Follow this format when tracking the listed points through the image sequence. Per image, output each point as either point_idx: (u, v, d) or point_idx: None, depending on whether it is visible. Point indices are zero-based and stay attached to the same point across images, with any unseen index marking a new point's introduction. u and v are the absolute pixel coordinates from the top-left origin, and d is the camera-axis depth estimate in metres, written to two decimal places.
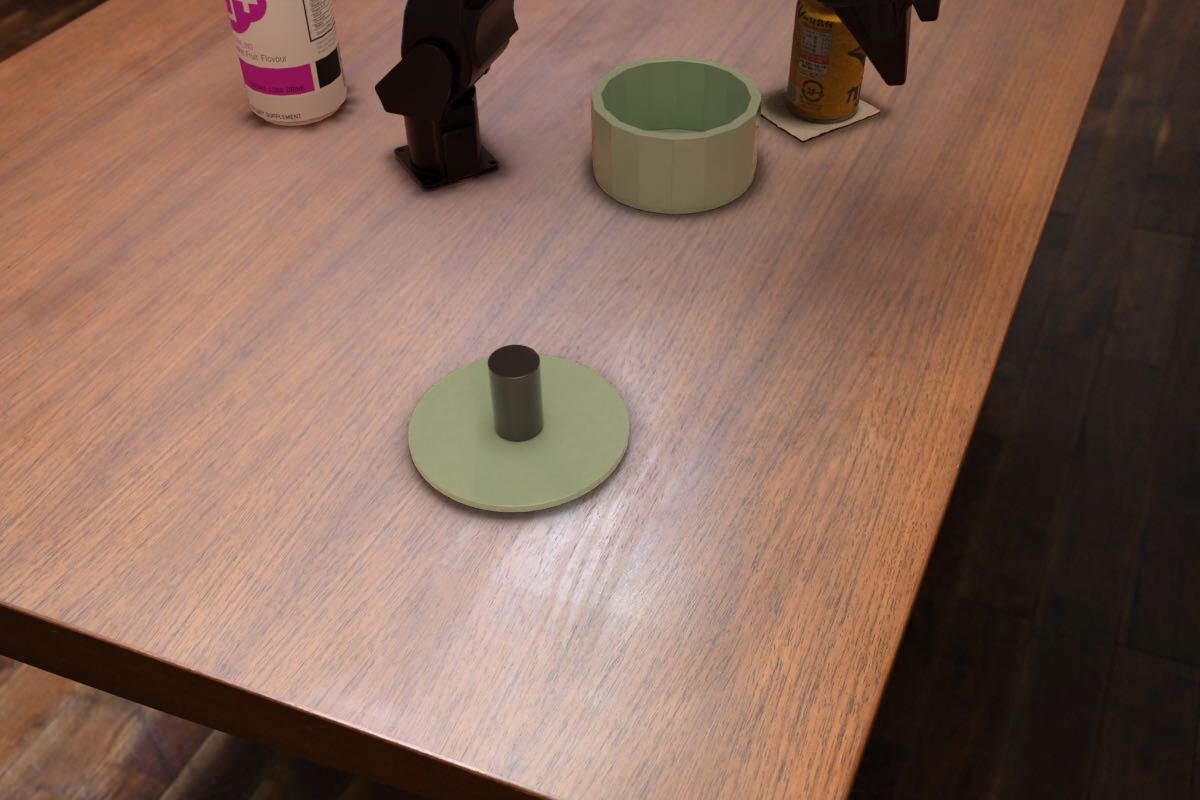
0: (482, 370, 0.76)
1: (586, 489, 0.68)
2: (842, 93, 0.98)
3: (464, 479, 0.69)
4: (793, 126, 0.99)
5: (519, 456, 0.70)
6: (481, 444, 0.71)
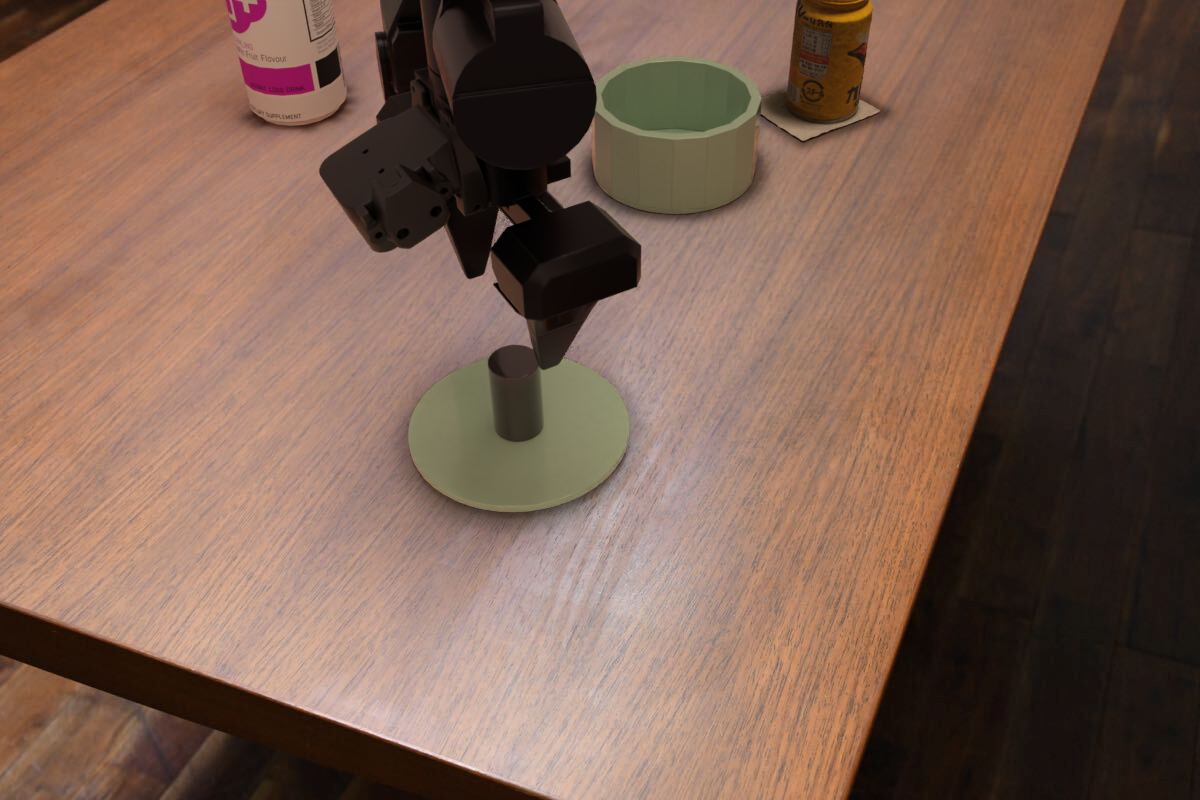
0: (482, 370, 0.76)
1: (586, 489, 0.68)
2: (842, 93, 0.98)
3: (464, 479, 0.69)
4: (793, 126, 0.99)
5: (519, 456, 0.70)
6: (481, 444, 0.71)
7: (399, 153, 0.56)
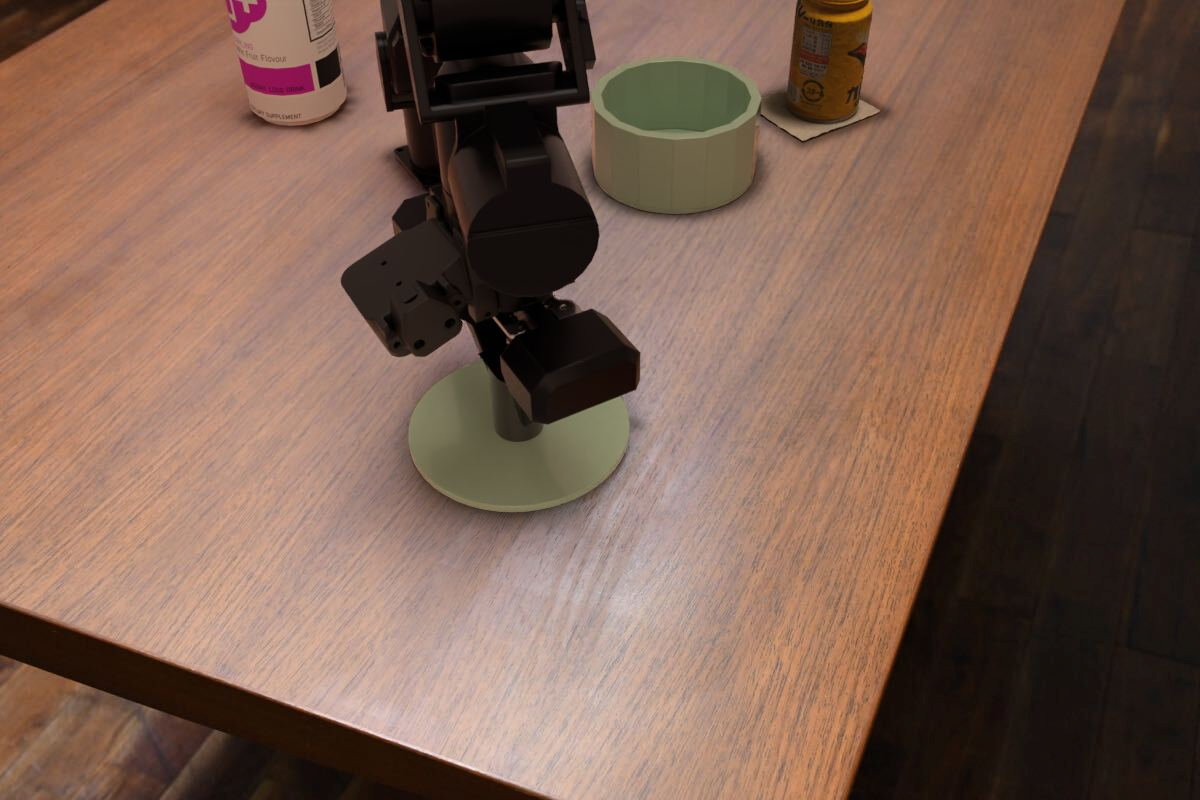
0: (482, 370, 0.76)
1: (586, 489, 0.68)
2: (842, 93, 0.98)
3: (464, 479, 0.69)
4: (793, 126, 0.99)
5: (519, 456, 0.70)
6: (481, 444, 0.71)
7: (415, 266, 0.61)
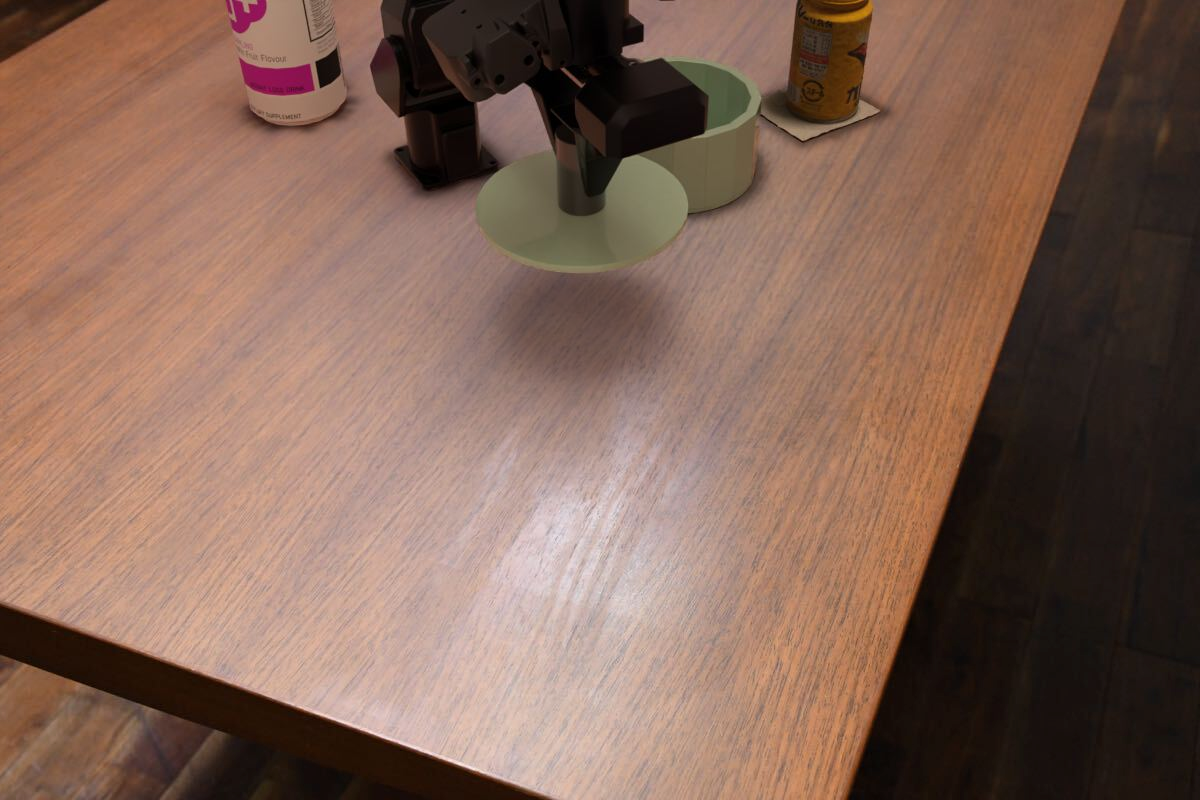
0: (544, 159, 0.79)
1: (648, 254, 0.71)
2: (842, 93, 0.98)
3: (531, 245, 0.72)
4: (793, 126, 0.99)
5: (583, 227, 0.73)
6: (546, 218, 0.74)
7: (495, 11, 0.63)
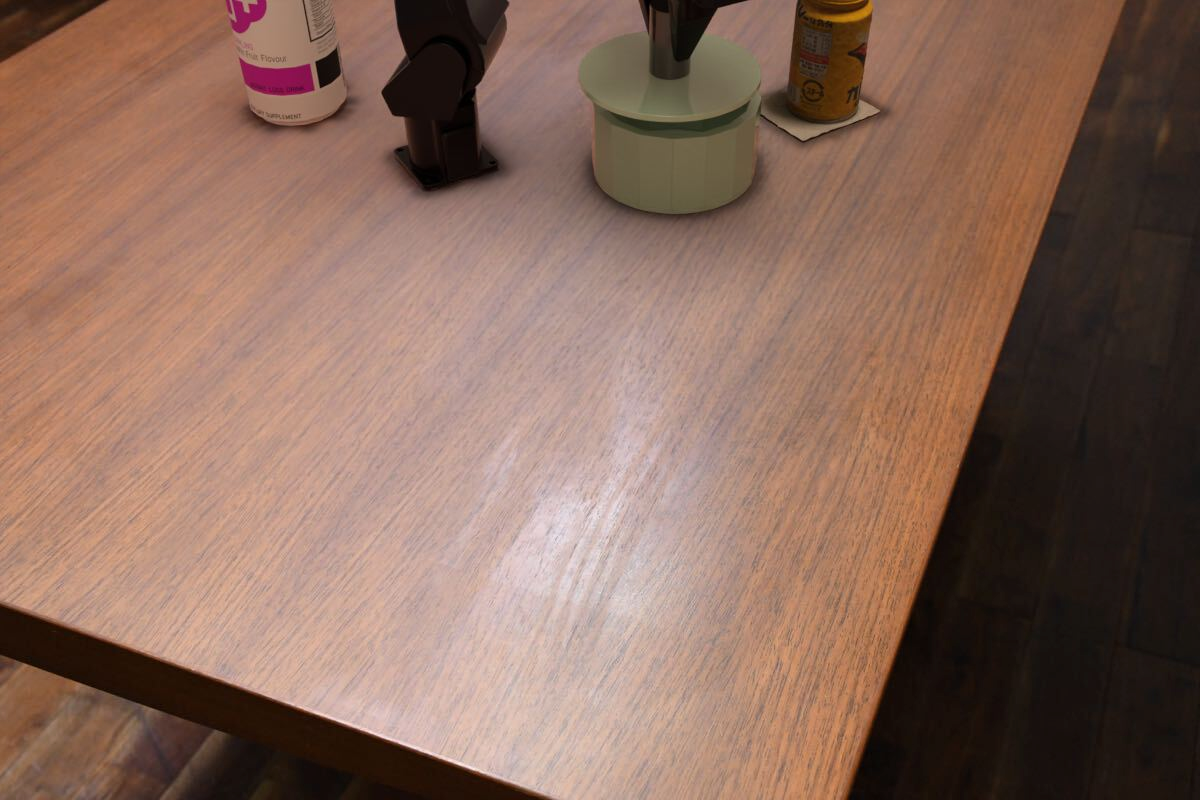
0: (634, 38, 0.91)
1: (730, 108, 0.83)
2: (842, 93, 0.98)
3: (629, 100, 0.84)
4: (793, 126, 0.99)
5: (672, 88, 0.85)
6: (640, 81, 0.86)
7: None
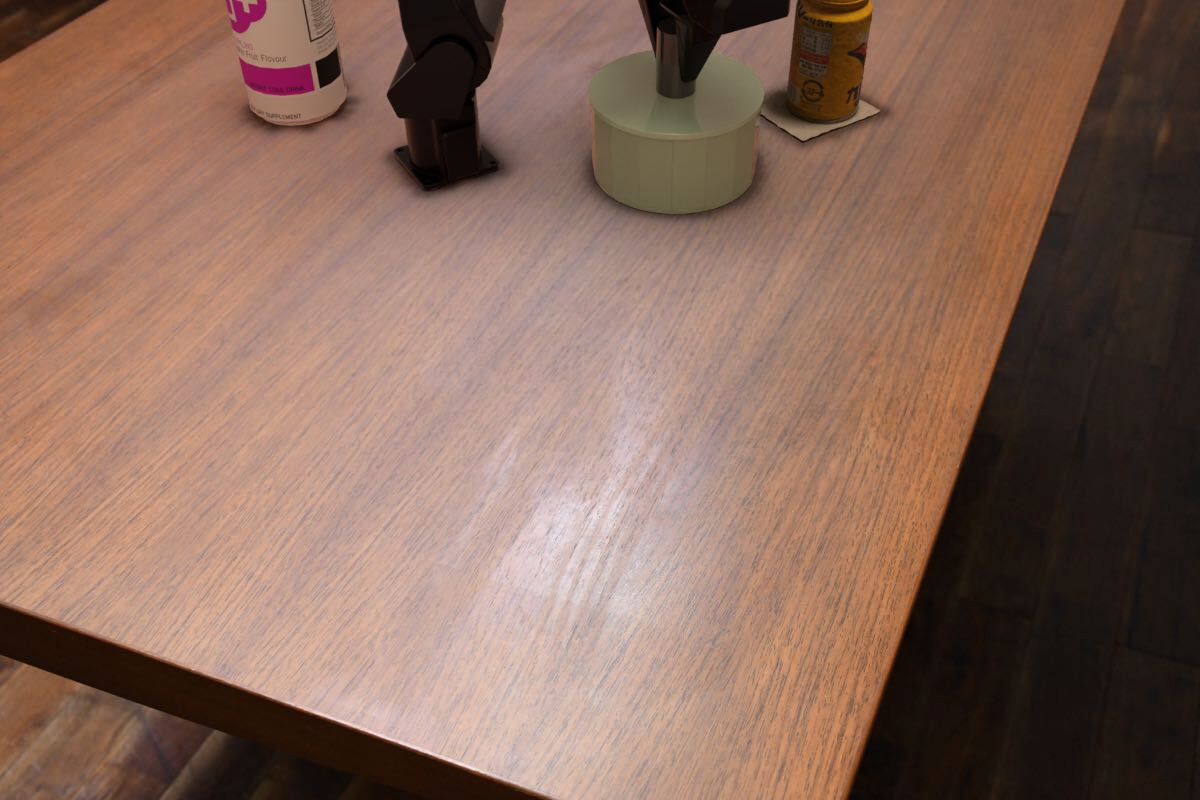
0: (640, 58, 0.94)
1: (735, 125, 0.87)
2: (842, 93, 0.98)
3: (638, 119, 0.87)
4: (793, 126, 0.99)
5: (679, 106, 0.88)
6: (648, 100, 0.89)
7: None
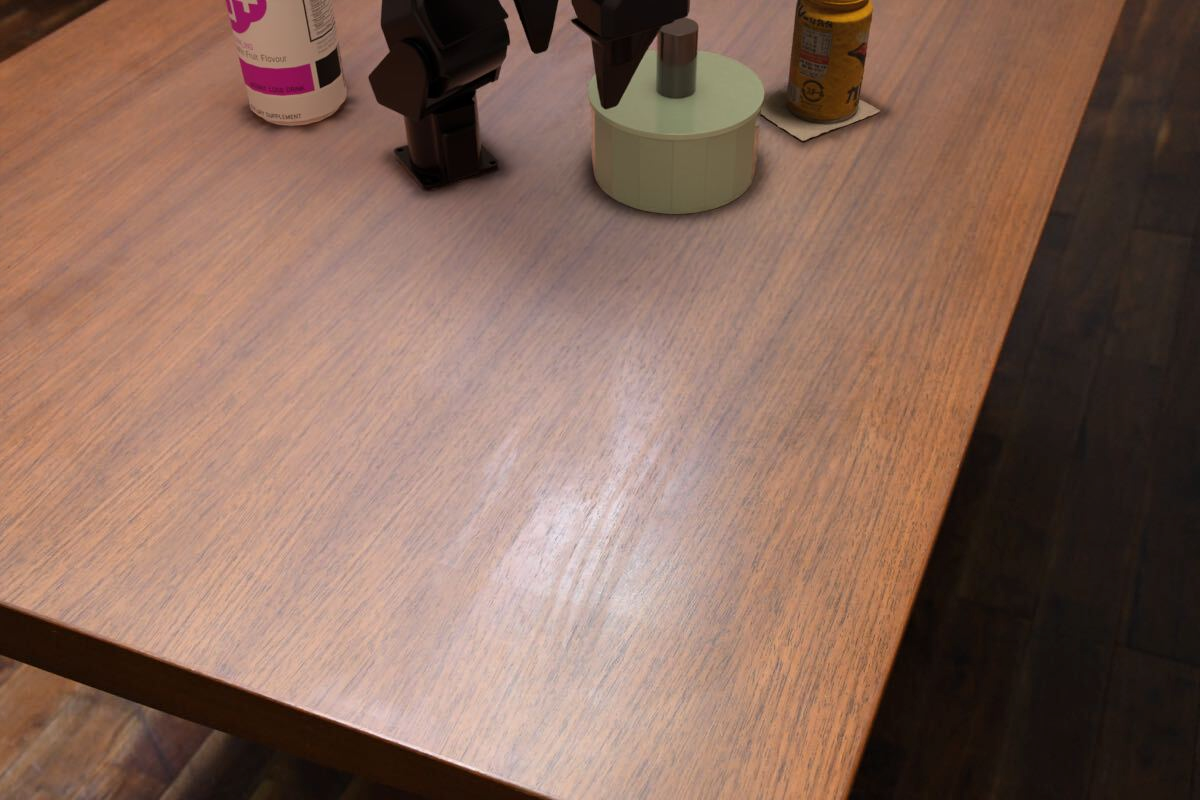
0: None
1: (735, 125, 0.87)
2: (842, 93, 0.98)
3: (638, 119, 0.87)
4: (793, 126, 0.99)
5: (679, 106, 0.88)
6: (648, 100, 0.89)
7: None
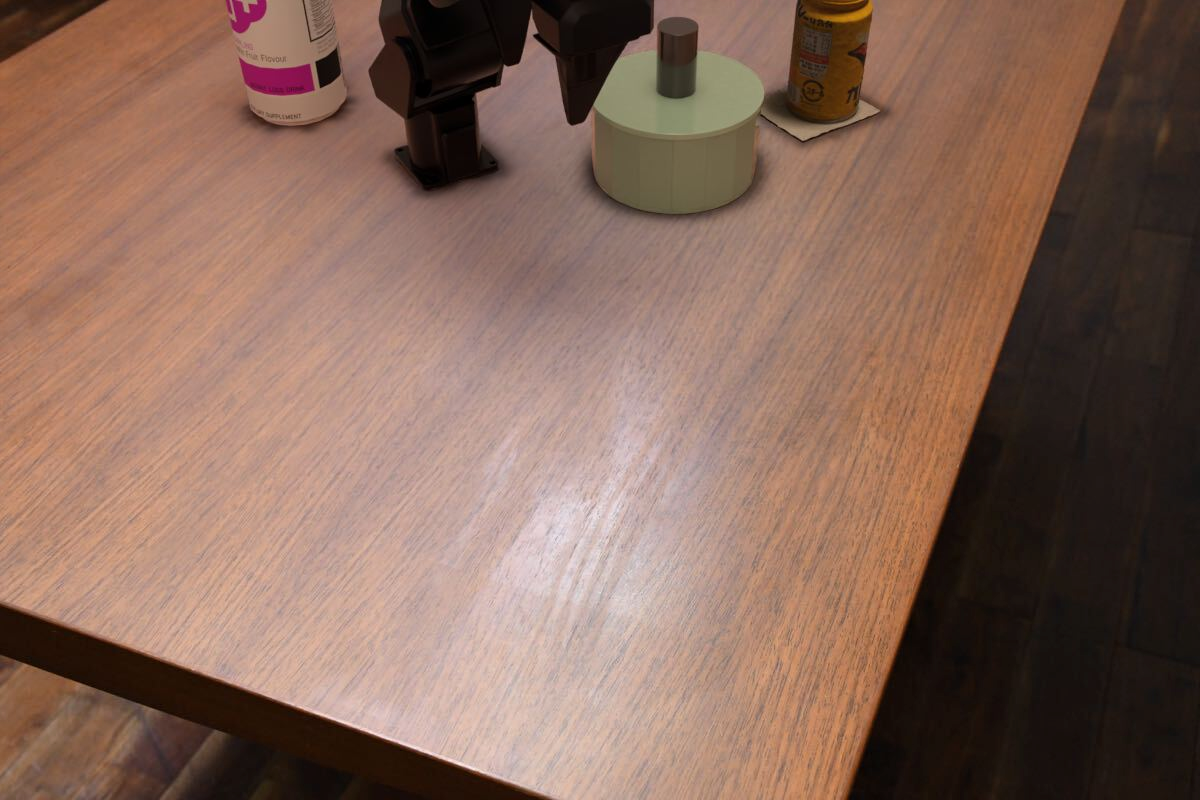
0: (640, 58, 0.94)
1: (735, 125, 0.87)
2: (842, 93, 0.98)
3: (638, 119, 0.87)
4: (793, 126, 0.99)
5: (679, 106, 0.88)
6: (648, 100, 0.89)
7: None
